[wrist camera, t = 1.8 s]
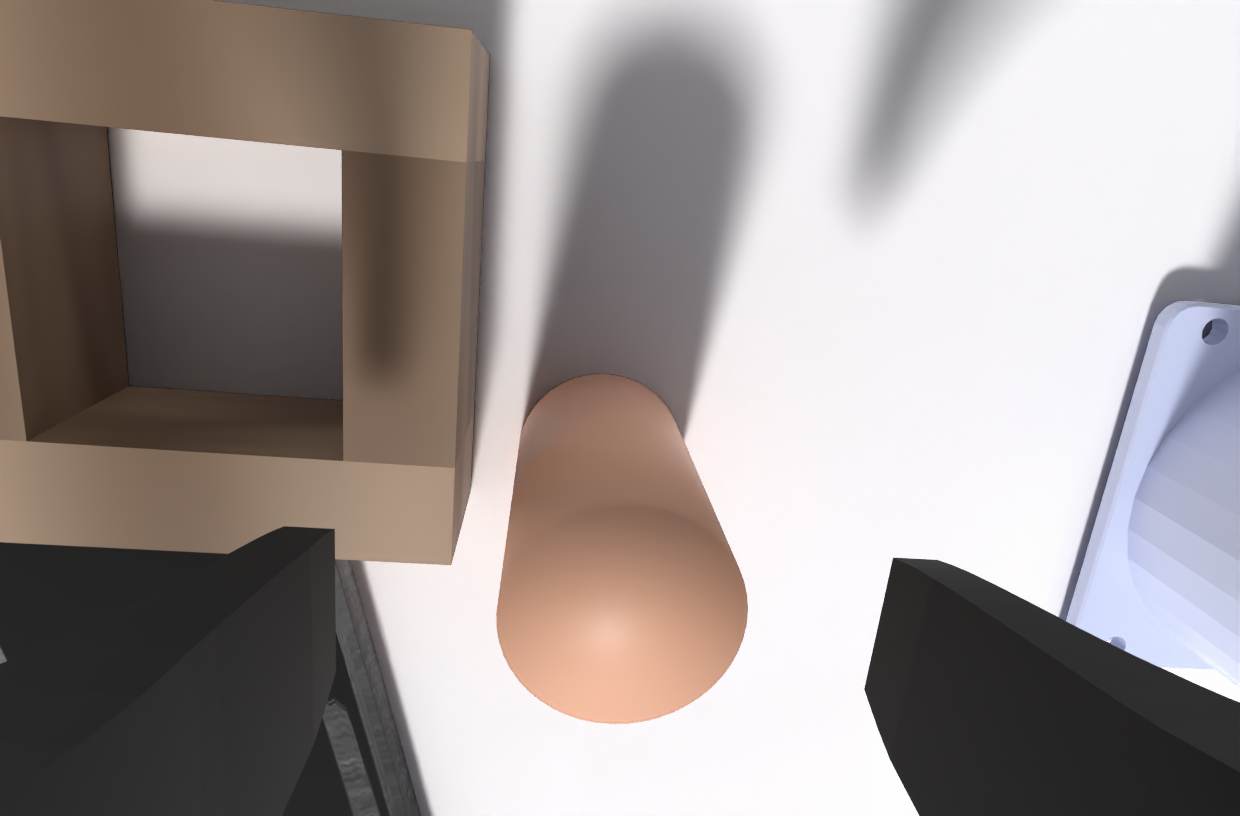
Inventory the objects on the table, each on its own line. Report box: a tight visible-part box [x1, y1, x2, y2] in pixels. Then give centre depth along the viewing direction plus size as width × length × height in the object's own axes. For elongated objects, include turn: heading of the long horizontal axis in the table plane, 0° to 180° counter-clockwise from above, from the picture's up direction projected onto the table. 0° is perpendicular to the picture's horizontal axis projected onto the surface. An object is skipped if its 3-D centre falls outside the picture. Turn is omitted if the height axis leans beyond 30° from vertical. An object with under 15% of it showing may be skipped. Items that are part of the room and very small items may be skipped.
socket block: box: [0, 0, 490, 565], centre depth 13 cm, size 8×8×3 cm
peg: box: [497, 374, 748, 724], centre depth 13 cm, size 3×3×6 cm
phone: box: [0, 542, 421, 816], centre depth 17 cm, size 8×1×15 cm
